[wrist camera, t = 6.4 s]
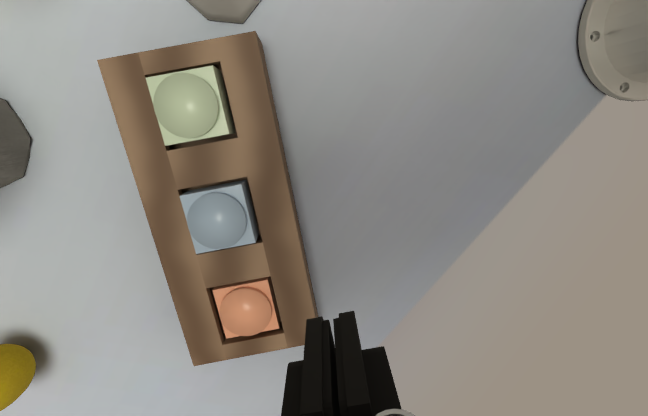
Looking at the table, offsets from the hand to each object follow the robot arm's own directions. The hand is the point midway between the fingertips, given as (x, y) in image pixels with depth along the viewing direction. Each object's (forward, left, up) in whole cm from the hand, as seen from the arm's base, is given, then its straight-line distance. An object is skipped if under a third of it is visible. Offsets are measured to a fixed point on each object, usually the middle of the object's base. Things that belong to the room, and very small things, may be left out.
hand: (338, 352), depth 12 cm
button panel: (+8, -2, -22) cm, 24 cm away
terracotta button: (+8, +7, -21) cm, 24 cm away
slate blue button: (+8, -2, -20) cm, 21 cm away
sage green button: (+8, -11, -20) cm, 24 cm away
